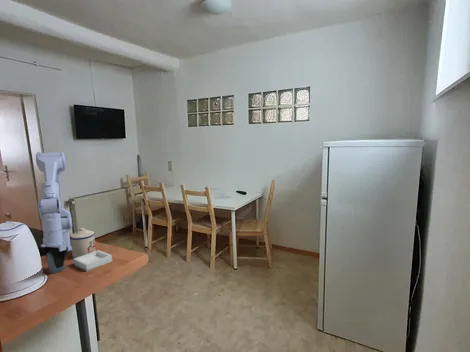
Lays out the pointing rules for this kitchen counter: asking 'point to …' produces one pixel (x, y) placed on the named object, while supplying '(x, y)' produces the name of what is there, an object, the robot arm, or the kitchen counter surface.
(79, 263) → the tray
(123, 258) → the kitchen counter surface
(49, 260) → the tumbler
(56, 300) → the kitchen counter surface
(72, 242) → the teacup with lid
